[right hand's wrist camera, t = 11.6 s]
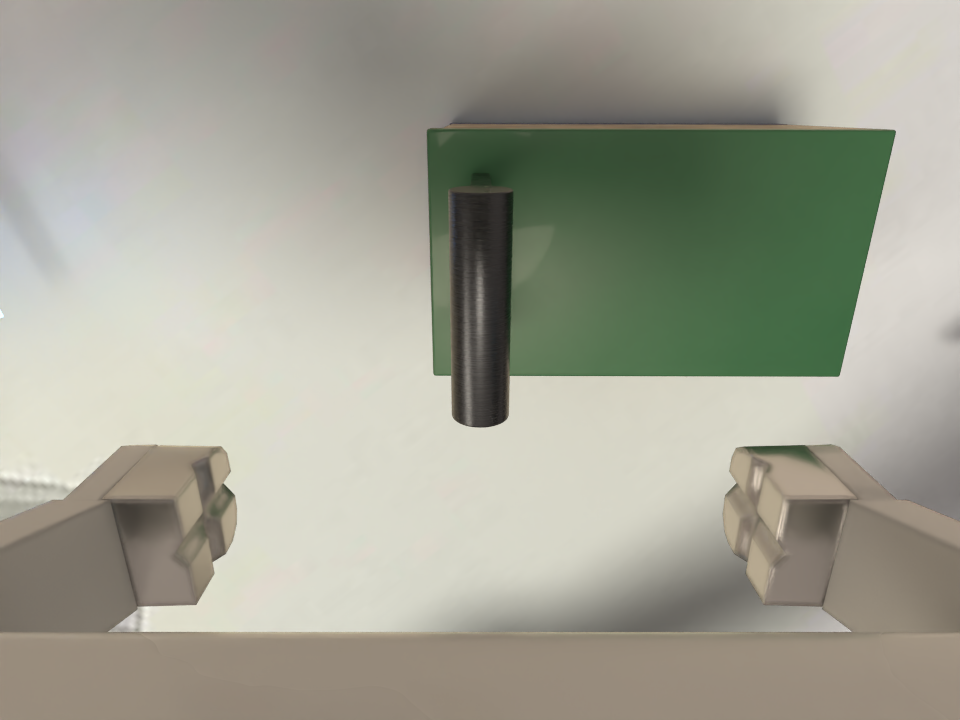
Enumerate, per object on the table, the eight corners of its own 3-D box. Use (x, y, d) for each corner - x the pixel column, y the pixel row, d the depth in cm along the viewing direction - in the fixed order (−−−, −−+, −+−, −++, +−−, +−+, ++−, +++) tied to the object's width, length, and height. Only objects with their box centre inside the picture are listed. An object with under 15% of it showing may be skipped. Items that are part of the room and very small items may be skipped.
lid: (435, 364, 28) (416, 467, 20) (429, 127, 24) (403, 136, 16) (824, 366, 28) (963, 469, 20) (877, 128, 24) (1072, 138, 16)
